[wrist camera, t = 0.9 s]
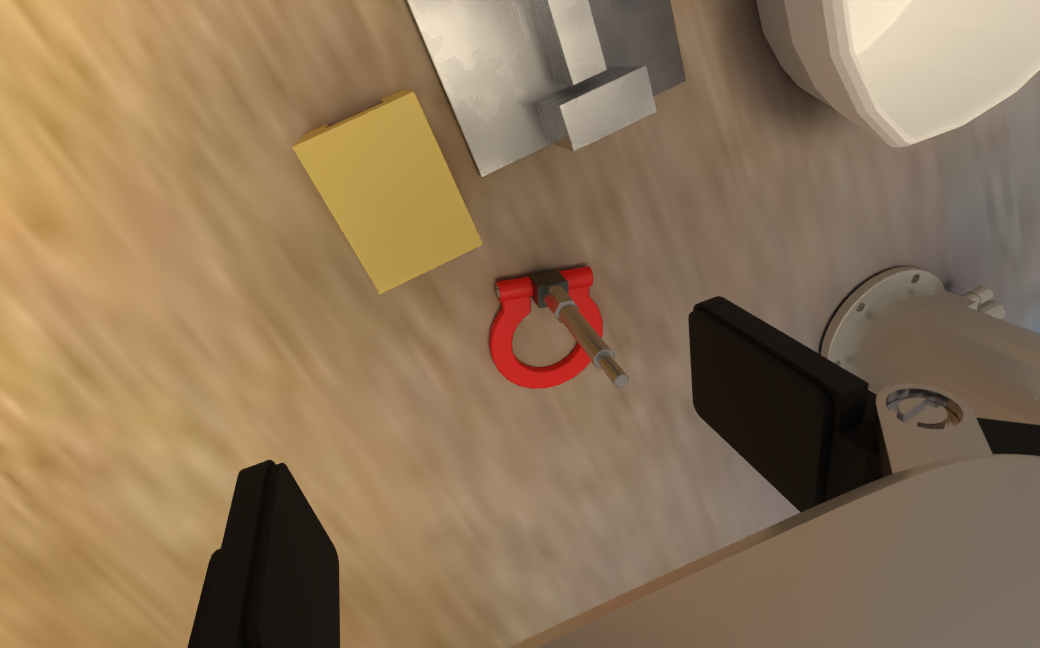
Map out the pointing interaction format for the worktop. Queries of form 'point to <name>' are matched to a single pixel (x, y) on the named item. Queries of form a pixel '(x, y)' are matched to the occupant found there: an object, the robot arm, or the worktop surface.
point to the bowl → (905, 58)
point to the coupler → (547, 69)
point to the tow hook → (571, 308)
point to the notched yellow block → (390, 190)
